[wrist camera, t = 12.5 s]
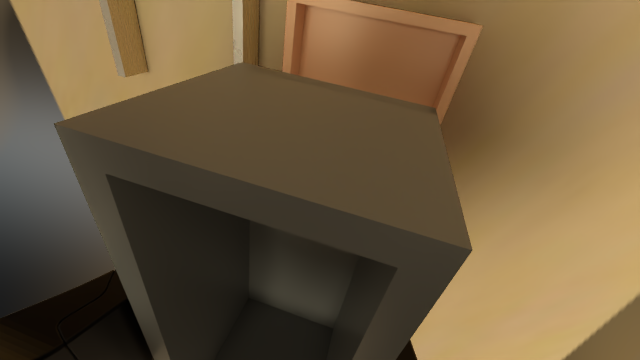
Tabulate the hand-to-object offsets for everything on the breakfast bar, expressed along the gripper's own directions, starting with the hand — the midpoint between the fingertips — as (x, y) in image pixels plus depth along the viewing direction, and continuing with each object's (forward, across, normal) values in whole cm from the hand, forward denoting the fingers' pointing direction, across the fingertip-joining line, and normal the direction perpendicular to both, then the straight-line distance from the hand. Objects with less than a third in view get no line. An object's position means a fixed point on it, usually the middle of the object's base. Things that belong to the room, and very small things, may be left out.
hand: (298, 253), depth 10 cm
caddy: (+1, 0, 0) cm, 1 cm away
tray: (+11, 0, 0) cm, 11 cm away
